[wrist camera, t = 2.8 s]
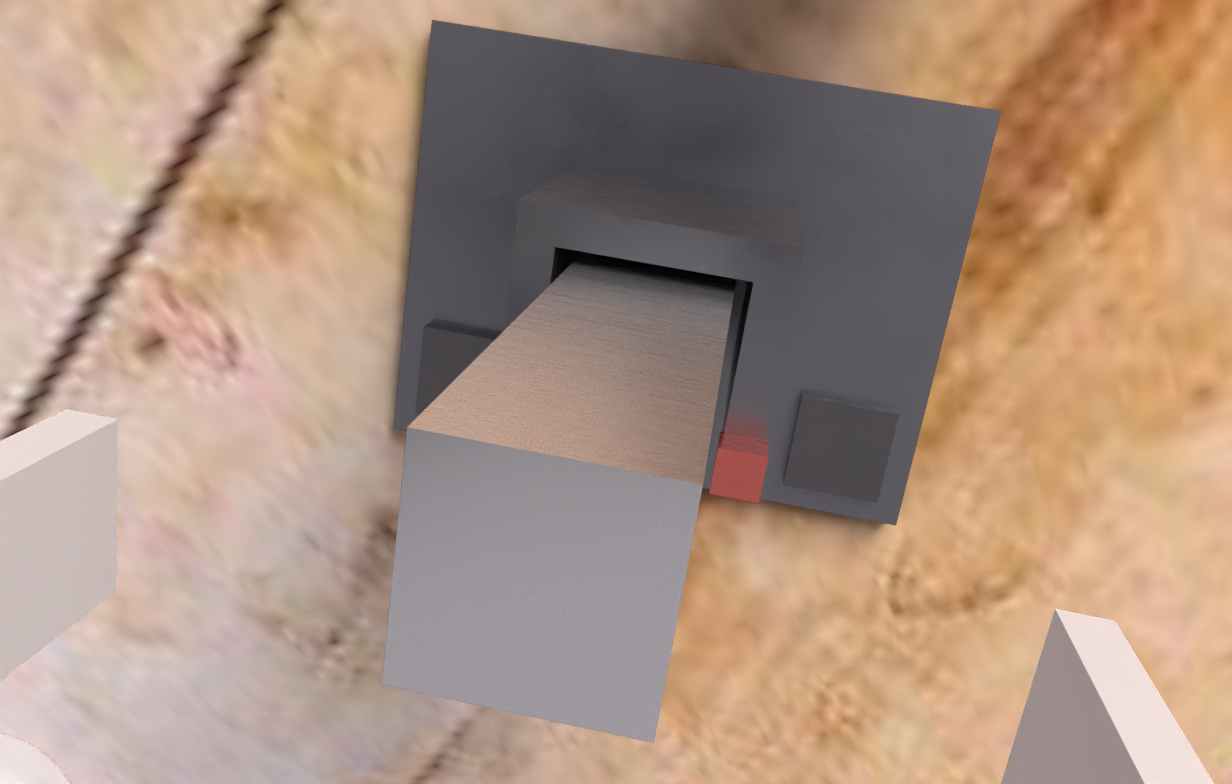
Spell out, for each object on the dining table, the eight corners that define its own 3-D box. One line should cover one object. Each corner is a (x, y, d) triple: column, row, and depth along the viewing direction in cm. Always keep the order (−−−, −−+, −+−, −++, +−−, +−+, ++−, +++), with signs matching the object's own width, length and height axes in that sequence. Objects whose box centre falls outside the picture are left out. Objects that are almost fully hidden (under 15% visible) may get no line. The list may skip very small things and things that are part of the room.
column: (600, 356, 37) (376, 736, 16) (622, 212, 35) (407, 427, 14) (716, 377, 36) (643, 795, 16) (743, 234, 35) (703, 484, 14)
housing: (402, 419, 40) (251, 564, 28) (440, 21, 35) (281, -1, 24) (892, 513, 38) (945, 708, 27) (994, 110, 34) (1110, 133, 22)
